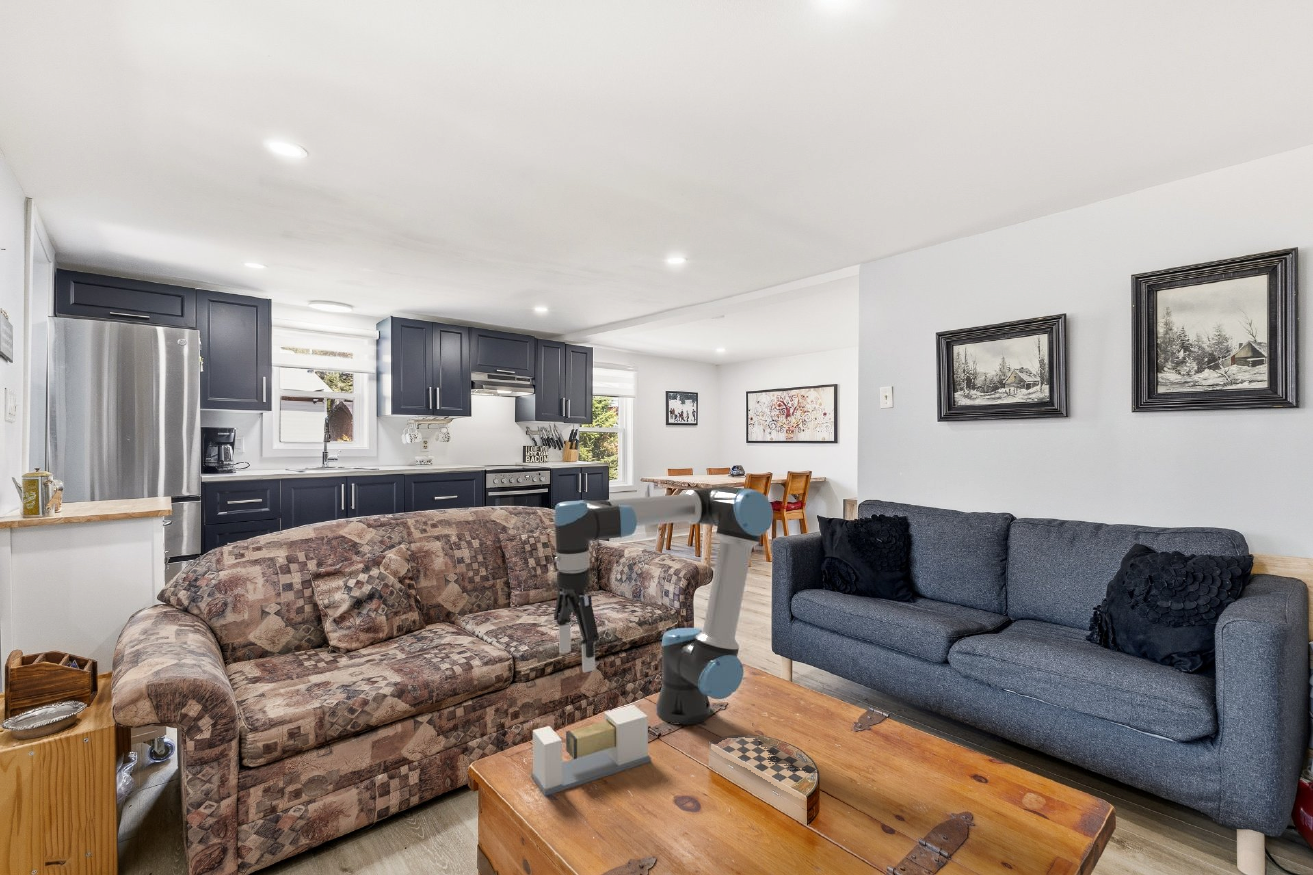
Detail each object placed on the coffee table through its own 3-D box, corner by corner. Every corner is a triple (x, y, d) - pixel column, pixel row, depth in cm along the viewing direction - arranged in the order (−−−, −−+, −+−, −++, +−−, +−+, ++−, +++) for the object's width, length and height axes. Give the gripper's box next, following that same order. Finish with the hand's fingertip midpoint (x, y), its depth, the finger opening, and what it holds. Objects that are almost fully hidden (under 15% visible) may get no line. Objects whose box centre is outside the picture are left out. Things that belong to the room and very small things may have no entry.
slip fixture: (632, 744, 154) (632, 702, 154) (650, 761, 146) (650, 716, 146) (531, 775, 140) (530, 729, 140) (545, 795, 132) (544, 746, 132)
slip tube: (634, 730, 151) (634, 712, 151) (643, 738, 148) (643, 719, 147) (566, 750, 142) (566, 731, 142) (573, 759, 138) (573, 739, 138)
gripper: (538, 561, 149) (542, 648, 150) (580, 583, 128) (583, 683, 128) (567, 557, 153) (570, 641, 153) (612, 577, 132) (615, 675, 132)
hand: (576, 661), depth 141 cm, fingers open, 13 cm apart
